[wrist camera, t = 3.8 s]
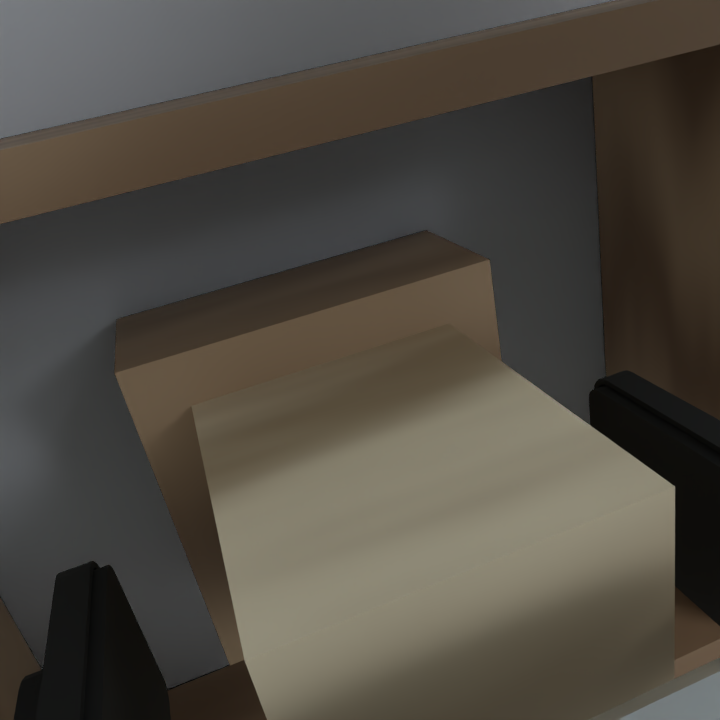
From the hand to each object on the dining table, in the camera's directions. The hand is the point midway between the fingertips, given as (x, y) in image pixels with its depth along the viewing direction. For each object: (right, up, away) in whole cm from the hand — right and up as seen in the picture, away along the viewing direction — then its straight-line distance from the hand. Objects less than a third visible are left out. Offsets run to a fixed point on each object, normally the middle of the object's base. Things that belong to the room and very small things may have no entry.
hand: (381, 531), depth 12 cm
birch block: (-1, +1, +2) cm, 2 cm away
